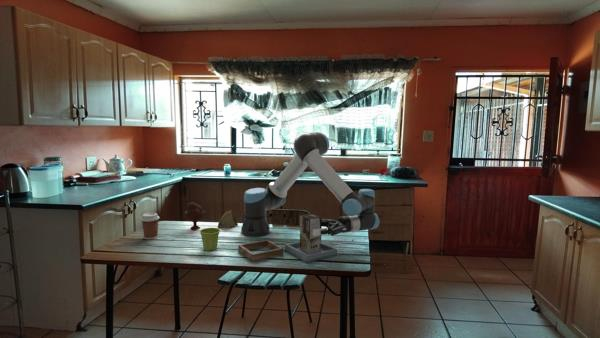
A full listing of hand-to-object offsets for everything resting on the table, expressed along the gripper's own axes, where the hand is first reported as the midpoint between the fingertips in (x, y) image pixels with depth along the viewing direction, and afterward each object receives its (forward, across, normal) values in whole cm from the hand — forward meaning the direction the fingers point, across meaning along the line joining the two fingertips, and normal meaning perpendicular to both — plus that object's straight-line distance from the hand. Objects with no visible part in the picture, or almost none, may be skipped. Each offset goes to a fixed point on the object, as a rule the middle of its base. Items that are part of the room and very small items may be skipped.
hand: (306, 228), depth 160 cm
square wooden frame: (+19, +9, -12) cm, 24 cm away
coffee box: (-2, 0, -11) cm, 11 cm away
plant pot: (+39, +23, -12) cm, 47 cm away
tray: (-2, 0, -12) cm, 12 cm away
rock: (+24, +59, -12) cm, 64 cm away
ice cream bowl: (+41, +60, -12) cm, 74 cm away
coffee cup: (+64, +52, -12) cm, 84 cm away
